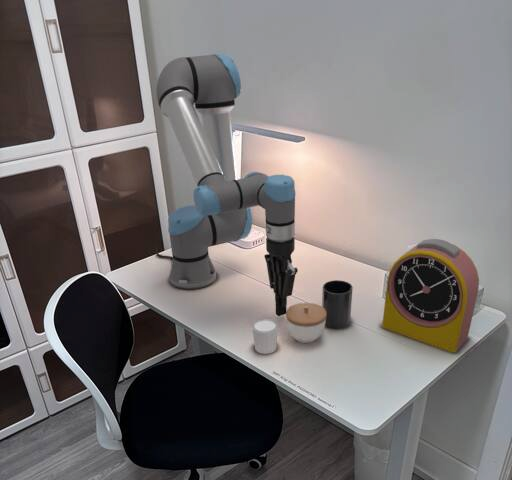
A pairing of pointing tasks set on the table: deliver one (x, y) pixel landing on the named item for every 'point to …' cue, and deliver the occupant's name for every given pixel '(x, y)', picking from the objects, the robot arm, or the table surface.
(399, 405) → the table surface
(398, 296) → the alarm clock
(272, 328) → the white cylinder
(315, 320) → the trinket box
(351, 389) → the table surface
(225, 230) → the robot arm
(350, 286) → the pen cup
